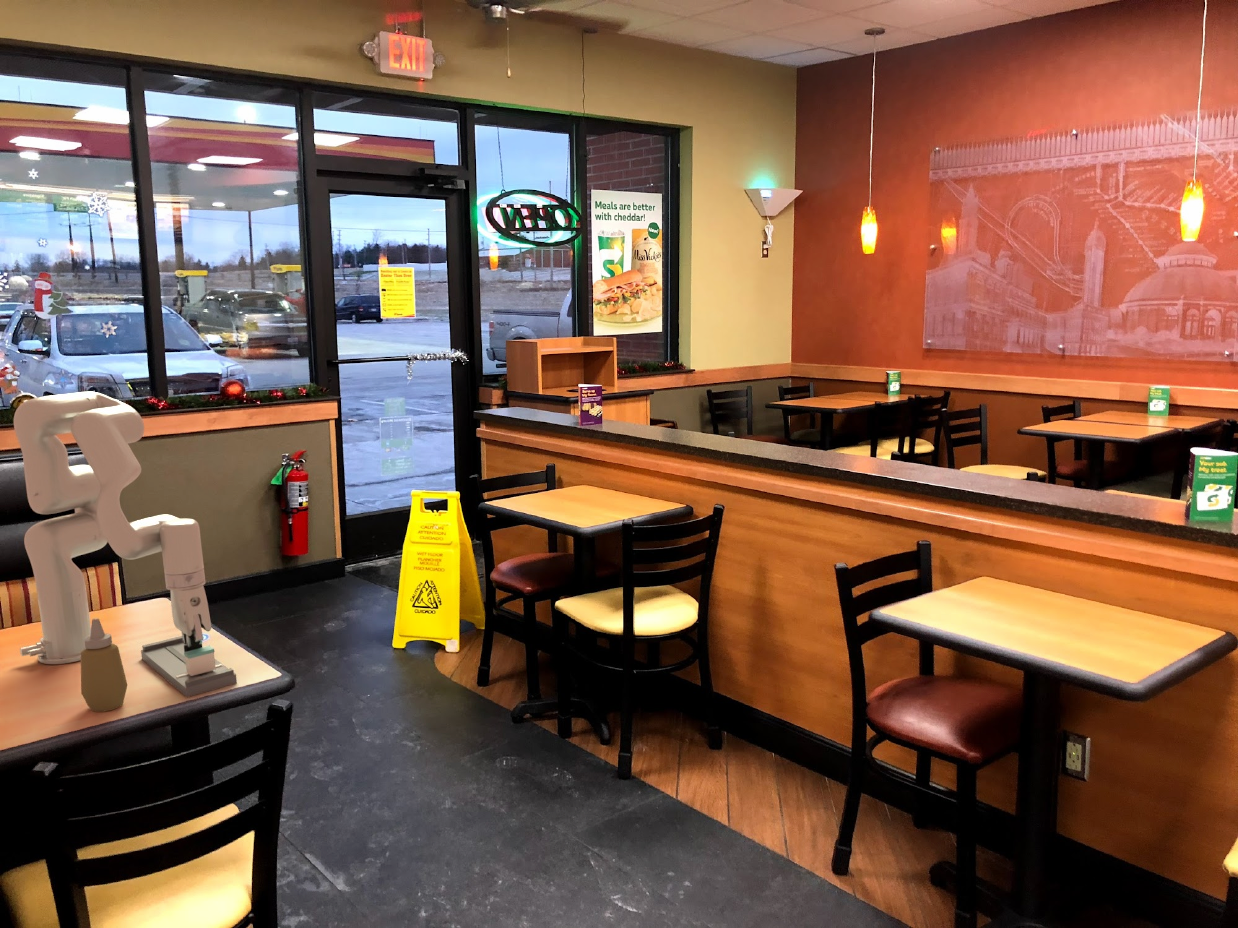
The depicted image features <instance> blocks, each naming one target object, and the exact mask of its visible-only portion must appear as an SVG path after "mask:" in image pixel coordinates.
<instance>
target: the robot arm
mask: <svg viewBox="0 0 1238 928" xmlns="http://www.w3.org/2000/svg"><path fill="white" fill-rule="evenodd" d="M13 427H14V433H15V437H16V438H17V441H18V443H19V446H20V450H21V453H22V459H23V470H24V471H23V472H24V479H25V488H26V494H27V495H26V497H27V501H28V503H29V507H30V509H32V511H33V512H34V513H36V514H40V515H51V514H57V513H62V512H66V511H70V510H74V513H71V514H66V515H61V516H57V517H53V518H49V519H45V520H42V521H39V522H36V523H35V524H33V525H31V526H30V528H28V530H26V532H25V534H24V538H23V539H24V540H23V541H24V543H23V544H24V548H25V550H26V551H25V552H26V553H27V556H28V559H29V562H30V564H31V568H32V572H33V576H34V581H35V588H36V595H37V601H38V602H37V603H38V607H39V614H40V615H39V616H40V623H41V629H42V631H41V632H42V636H43V637H40V638H39V640H40V641H39V642H35V644H33V645H27V646H23V647H20V648H19V649H20V651H19V652H20V655H21V657H24V656H29V657H34V656H37V659H38V662H39V663H41V664H46V665H63V664H69V663H75V662H79V661H80V662H81V652H82V651H83V650H84V649H85V648H86V647H85V641H84V640H85V639H86V638H87V637H89V636H90V634H91V625H92V623H91V617H90V610H89V602H88V594H87V589H86V588H87V587H86V581H85V576H84V573H83V571H81V569H80V568H79V567H78V566H77V565H76V564H75V563H74V562H73V560H72V559H73V558H76V557H79V556H81V555H86V554H89V553H93V552H95V551H98V550H101V549H102V548H104V547H105V546H106V545H107V544H109V546H110V547H111V549H112V551H114V553H115V554H116V555H117V556H119V557H120V558H122V559H125V560H129V561H130V560H136V559H141V558H144V557H146V556H150V555H154V554H157V553H160V552H161V555H162V562H163V563H162V565H163V571H164V580H165V588H166V590H168V591H170V604H171V605H170V607H171V615H172V616H171V617H172V621H173V624H174V626H175V628H176V629H178V630H179V631H180V632H181V636H182V638H183V643H184V652H187V651H191V650H195V649H198V648H202V647H203V641H204V635H203V630H204V631H206V632H210V631H212V622H211V617H210V611H209V610H210V609H209V603H208V599H207V595H206V590H205V587H204V585H205V584H206V575H205V566H204V565H205V564H204V557H203V548H202V540H201V539H202V538H201V529H200V528H201V527H200V524H199V522H198V521H197V520H195V519H193V518H185V517H184V518H179V517H177V516H174V515H172V514H167V513H166V514H157V515H153V516H151V517H145V518H142V519H137V520H134V521H130V522H129V521H128V519H127V517H126V515H125V514H124V512H123V509H122V507H121V503H120V498H121V493H122V491H123V489H125V488H126V487H127V486H129V485H130V484H131V483H133V482H134V481H136V479H137V478H139V476H140V474H141V473H142V467H141V464H140V463H139V460H138V458H136V456H135V454H134V452H133V450H132V449H131V447H130V444H133V443H136V442H138V441H140V440H141V439H142V437H143V436H144V434H145V423H144V420H143V418H142V417H141V414H140V413H139V412H138V411H137V410H136V409H135V408H134V407H132V406H131V405H129V404H126V403H125V402H122V401H119V400H118V399H115V398H112V397H111V396H107V395H105V394H103V393H100V392H95V391H81V392H80V391H78V392H71V393H61V394H53V395H52V394H51V395H44V396H39V397H35V398H31V399H28V400H25V401H24V402H22V403H21V404H19V405H18V407H17V408H16V409H15V412H14V416H13ZM64 434H65V435H66V434H72V437H73V439H74V440H75V443H76V444H77V446H78V448H79V449H80V451H81V453H82V454H83V456H84V458H85V459H86V462H87V463H88V464H76V465H75V464H74V465H70V463H69V454H68V450H67V448H66V445H65V444H64V443H63V441H62V440H61V439H60V438H59V436H57V435H64ZM186 644H187V645H186ZM185 661H186V660H185Z"/></svg>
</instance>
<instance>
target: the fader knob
mask: <svg viewBox="0 0 1238 928" xmlns="http://www.w3.org/2000/svg"><path fill="white" fill-rule="evenodd" d="M184 656H185V660H186V669H187V673H188V674H189V675H190V676H193V675H197V674H201V673H204V672H208V671H212V670H215V669H216V667H215V659H216V658H215V648H214V647H212V646H211V645H208V646H207V645H206V646H202V648H198V649H195V650H191V651H187V652H184Z"/></svg>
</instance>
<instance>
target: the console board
mask: <svg viewBox="0 0 1238 928" xmlns="http://www.w3.org/2000/svg"><path fill="white" fill-rule="evenodd" d="M186 645H187V644H186ZM140 654H141V656H140V657H141V660H143V661H144V662H145V663H146V664H147V665H149V666H150V668H152V669H153V670H154V671H156V672H157V673H158V674H159V675H160V676H161V677H163V678H164V679H165V680H166V681H167V682H168V683H169V684H171V685H172V686H173V687H174V688H176V689H177V690H178V691H179V692H180V693H181V694H182V695H184V697H186V698H190V697H192V696H196V695H199V694H200V695H201V694H203V693H207V692H210V691H214V690H218V689H222V688H224V687H228V686H232V685H235V684H237V683H238V682H237V674H236V673H235V672H234V669H233V668H231V667H230V668H228V667H227V666H226V665H224V664H223V663H222V662H220V661H218V660H217V659H216V658H215V667H216V669H215V670H212V671H208V672H204V673H201V674H197V675H193V676H190V675H189V674H188V673H187V669H186V661H185V656H184V643H183V638H182V635H180V636H175V637H172V638H166V639H163V640H159V641H155V642H151V643H148V644H143V645H142V650H140ZM231 684H232V685H231Z"/></svg>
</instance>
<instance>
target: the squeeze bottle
mask: <svg viewBox="0 0 1238 928" xmlns="http://www.w3.org/2000/svg"><path fill="white" fill-rule="evenodd" d="M101 623H102V622H101V621H100V619H99V618H92V620H91V634H90V636H89V637H87V638H86V639H85V640H84V641H85V647H86V648H85V649H84V650H83V651H82V652H81V660H80V682H81V683H80V690H81V692H80V693H81V696H82V697H83V699H84V700H85V703H86V704H87V706H88V709H89V710H90V711H91V712H94V713H96V712H97V713H102V712H108V711H112V710H115V709H117V708H120V707H121V706H122V705H123V703H124V701H125V697H126V692H127V689H128V681H127V677H126V674H125V670H124V669H125V668H124V665H123V662H122V661H123V660H122V658H121V653H120V649H119V647H118V645H117V644H115V643H113V639H112V634H110V633H105V631H104V627H103V626H102V624H101Z"/></svg>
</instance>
